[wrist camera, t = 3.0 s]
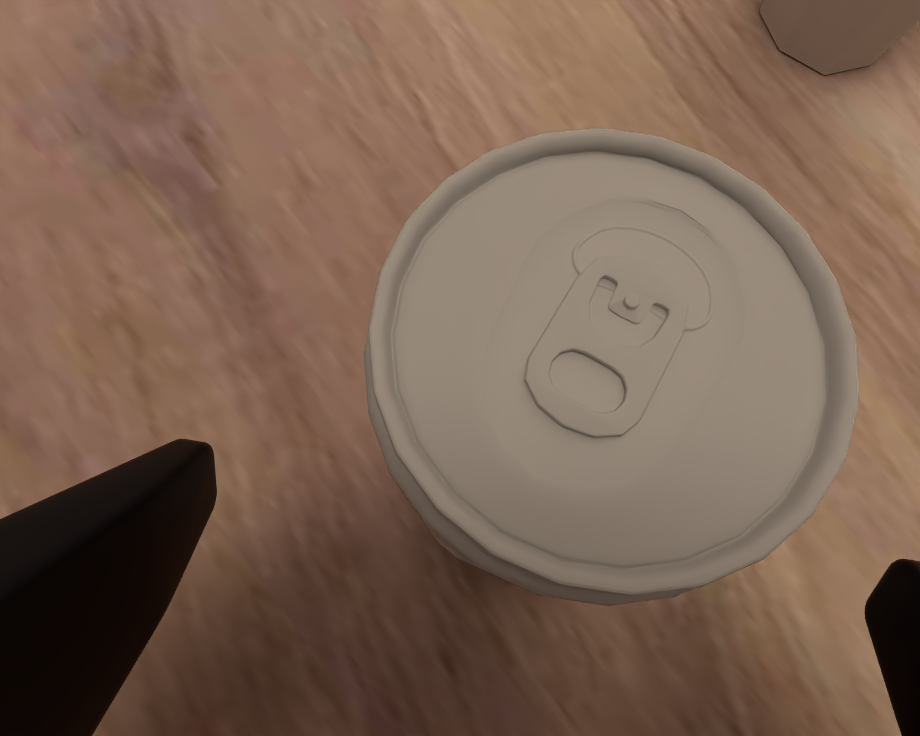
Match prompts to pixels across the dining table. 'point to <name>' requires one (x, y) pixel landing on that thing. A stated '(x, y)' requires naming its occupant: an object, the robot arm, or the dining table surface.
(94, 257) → the dining table surface
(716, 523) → the beverage can
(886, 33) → the faceted bottle
